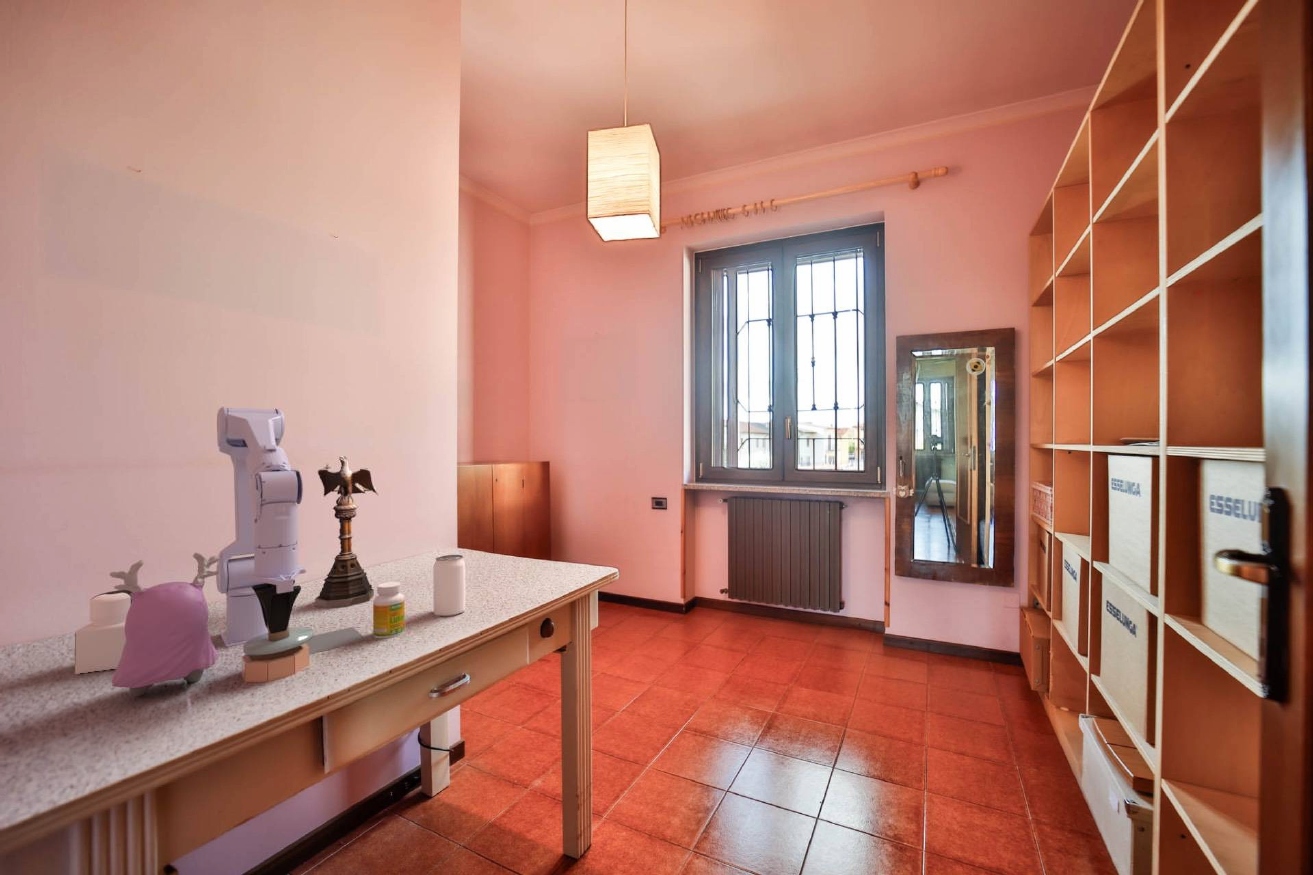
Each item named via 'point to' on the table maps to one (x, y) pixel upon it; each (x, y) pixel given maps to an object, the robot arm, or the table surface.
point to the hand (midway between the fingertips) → (276, 629)
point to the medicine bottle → (103, 633)
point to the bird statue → (345, 539)
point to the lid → (278, 641)
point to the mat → (334, 640)
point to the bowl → (275, 664)
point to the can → (449, 585)
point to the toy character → (165, 631)
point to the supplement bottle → (388, 611)
